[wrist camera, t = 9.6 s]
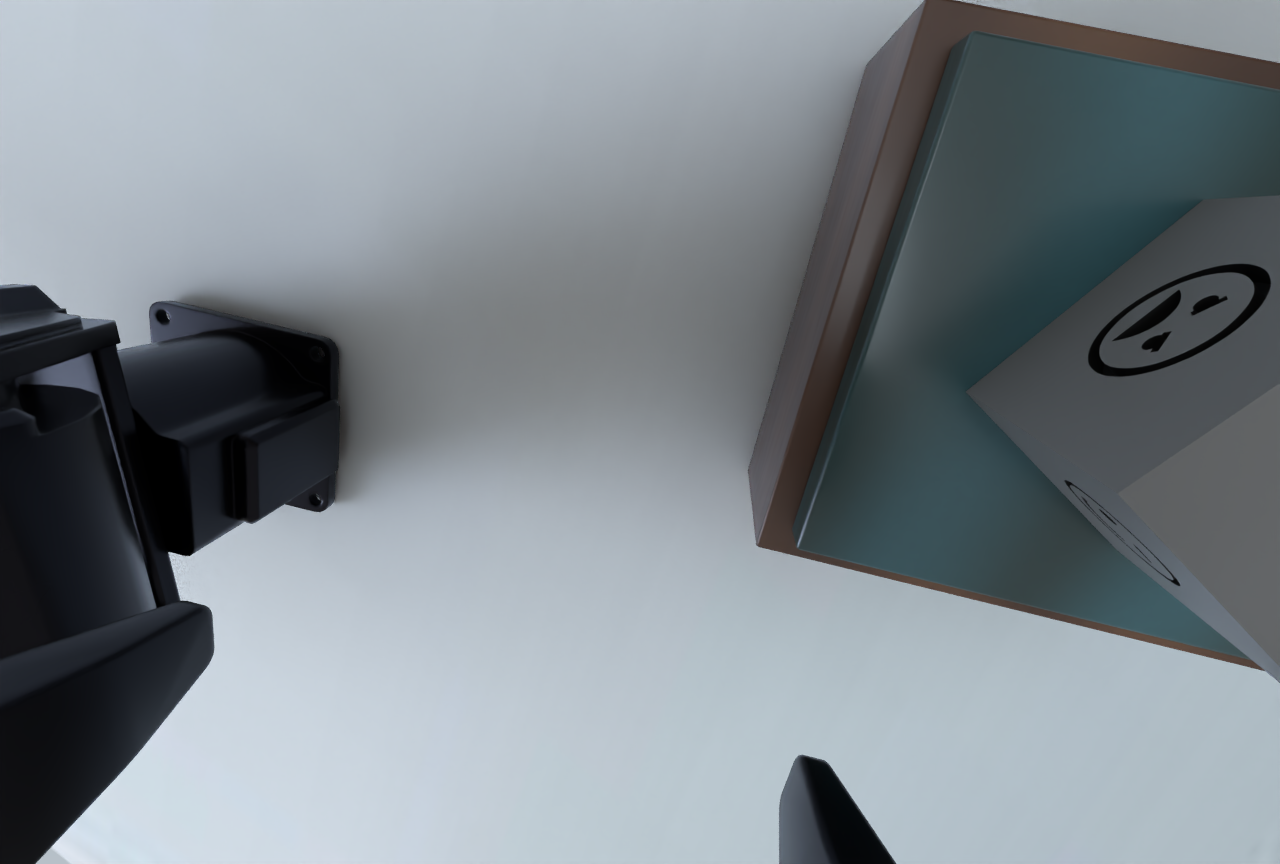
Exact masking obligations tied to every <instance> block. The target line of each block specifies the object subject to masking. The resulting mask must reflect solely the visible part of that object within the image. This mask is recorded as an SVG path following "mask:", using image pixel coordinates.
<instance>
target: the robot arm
mask: <svg viewBox="0 0 1280 864" xmlns="http://www.w3.org/2000/svg"><path fill="white" fill-rule="evenodd" d="M166 312H167V313H168V314H169V317H170V320H169V319H168V318H167V315H166ZM149 318H150V330H151V342H152V343H150V344H146V345H141V346H136V347H131V348H126V349H121V350H117V347H116V344H119V343H121V342H120V338H119V334H118V330H117V326H116V322H115V321H114V320H102V319H87V318H81V317H80V316H77V315H70V314H67V312H66V309H62V308H60V307H59V306H57V305H56V304H55V303H54V302H53V301H52V300H51V299H50V298H49V297H48V296H47V295H45V294H44V293H43V292H42V291H41V290H40V289H39V288H38V287H37V286H35V285H18V284H10V285H0V864H36V862H37V861H38V860H39V859H40V858H41V857H42V856H43V855H44V854H45V853H46V852H47V851H48V850H49V849H50V848H51V847H52V846H53V845H54V843H55V842H56V841H57V840H58V839H59V838H60V837H61V836H62V835H63V834H64V833H65V832H66V831H67V830H68V829H69V828H70V826H71V825H72V824H73V823H74V822H75V821H76V820H77V819H78V818H79V817H80V816H81V815H82V814H83V813H84V812H85V810H86V809H87V808H88V807H89V806H90V805H91V804H92V803H93V802H94V801H95V800H96V799H97V798H98V797H99V796H100V795H101V793H102V792H103V791H104V790H105V789H106V788H107V787H108V786H109V785H110V784H111V783H112V782H113V781H114V780H115V779H116V778H117V776H118V775H119V774H120V773H121V772H122V771H123V770H124V769H125V768H126V766H127V765H128V764H129V763H130V762H131V761H132V760H133V758H134V757H135V756H136V755H137V754H138V753H139V751H140V750H141V749H142V748H143V747H144V745H145V744H146V743H147V742H148V740H149V739H150V738H151V737H152V735H153V734H154V733H155V732H156V730H157V729H158V728H159V727H160V725H161V724H162V723H163V722H164V720H165V719H166V718H167V717H168V715H169V714H170V713H171V712H172V710H173V709H174V708H175V706H176V705H177V704H178V703H179V701H180V700H181V699H182V698H183V696H184V695H185V694H186V693H187V691H188V690H189V689H190V688H191V686H192V685H193V684H194V683H195V681H196V680H197V679H198V678H199V676H200V675H201V674H202V673H203V671H204V670H205V669H206V667H207V666H208V665H209V663H210V661H211V659H212V656H213V653H214V634H213V618H212V612H211V610H210V609H209V607H207V606H205V605H201V604H197V603H193V602H189V601H180V597H179V593H178V589H177V585H176V581H175V577H174V573H173V569H172V565H171V561H170V558H169V554H168V552H172V553H176V554H180V555H184V556H190V555H192V554H193V553H195V552H197V551H198V550H200V549H201V548H203V547H205V546H206V545H208V544H209V543H211V542H213V541H214V540H216V539H218V538H219V537H221V536H222V535H224V534H226V533H227V532H229V531H230V530H232V529H234V528H235V527H237V526H239V525H240V524H242V523H243V522H246V523H250V524H253V523H256V522H257V521H259V520H260V519H262V518H263V517H265V516H267V515H268V514H270V513H271V512H273V511H274V510H276V509H278V508H279V507H281V506H282V505H284V504H286V505H290V506H294V507H298V508H302V509H306V510H310V511H314V512H321V511H324V510H325V509H327V508H328V507H330V506H331V505H332V504H333V503H334V499H335V472H336V471H337V470H338V460H339V426H340V407H339V404H338V402H337V401H338V365H339V353H338V348H337V346H336V345H335V343H334V342H333V341H332V340H331V339H329V338H326V337H323V336H319V335H315V334H311V333H306V332H302V331H298V330H294V329H289V328H285V327H281V326H277V325H272V324H268V323H264V322H260V321H256V320H251V319H247V318H243V317H239V316H234V315H230V314H226V313H222V312H217V311H213V310H209V309H205V308H200V307H196V306H192V305H188V304H183V303H179V302H175V301H161V302H156V303H154V304H152V306H151V307H150V310H149ZM318 347H320V348H321V349H322V350H323V351H324V355H325V356H324V358H322V357H321V356H320V355H319V354H318ZM315 493H316V494H318V495H319V496H320V497H321V500H322V501H320V500H319V499H318V498H317V497H316V494H315ZM779 864H896V863H895V861H894V860H893V858H892V857H891V855H890V854H889V852H888V851H887V849H886V848H885V846H884V845H883V843H882V842H881V840H880V839H879V837H878V836H877V834H876V833H875V831H874V830H873V828H872V827H871V825H870V824H869V823H868V821H867V820H866V818H865V817H864V815H863V814H862V812H861V811H860V809H859V808H858V806H857V805H856V803H855V802H854V800H853V799H852V797H851V796H850V794H849V793H848V791H847V790H846V788H845V787H844V785H843V784H842V783H841V781H840V780H839V778H838V777H837V775H836V774H835V772H834V771H833V769H832V768H831V766H830V765H829V764H828V763H827V762H826V761H824V760H821V759H817V758H813V757H809V756H805V755H799V756H798V757H797V758H796V759H795V761H794V763H793V766H792V768H791V771H790V773H789V776H788V779H787V781H786V784H785V786H784V789H783V792H782V795H781V799H780V806H779Z"/></svg>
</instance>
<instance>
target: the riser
mask: <svg viewBox="0 0 1280 864" xmlns="http://www.w3.org/2000/svg"><path fill="white" fill-rule="evenodd" d="M1277 195H1280V63H1277V62H1272V61H1267V60H1261V59H1256V58H1251V57H1246V56H1241V55H1235V54H1230V53H1225V52H1220V51H1215V50H1210V49H1204V48H1199V47H1194V46H1189V45H1184V44H1178V43H1173V42H1168V41H1163V40H1158V39H1153V38H1147V37H1142V36H1137V35H1132V34H1127V33H1121V32H1116V31H1111V30H1106V29H1101V28H1096V27H1090V26H1085V25H1080V24H1075V23H1070V22H1064V21H1059V20H1054V19H1049V18H1044V17H1039V16H1033V15H1028V14H1023V13H1018V12H1013V11H1007V10H1002V9H997V8H992V7H987V6H982V5H976V4H971V3H966V2H961V1H956V0H924V1H923V2H922V3H921V5H920V6H919V7H918V8H917V9H916V10H915V11H914V12H913V14H912V15H911V16H910V17H909V18H908V19H907V20H906V21H905V22H904V24H903V25H902V26H901V27H900V28H899V29H898V30H897V31H896V32H895V34H894V35H893V36H892V37H891V38H890V39H889V40H888V41H887V42H886V44H885V45H884V46H883V47H882V48H881V49H880V50H879V51H878V52H877V54H876V55H875V56H874V57H873V58H872V59H871V60H870V61H869V63H868V64H867V65H866V68H865V71H864V75H863V78H862V82H861V85H860V89H859V92H858V95H857V99H856V102H855V106H854V109H853V113H852V116H851V119H850V123H849V126H848V130H847V133H846V137H845V140H844V143H843V147H842V150H841V154H840V157H839V161H838V164H837V167H836V171H835V174H834V178H833V181H832V185H831V188H830V191H829V195H828V198H827V202H826V205H825V209H824V212H823V215H822V219H821V222H820V226H819V229H818V232H817V236H816V239H815V243H814V246H813V250H812V253H811V256H810V260H809V263H808V267H807V270H806V274H805V277H804V280H803V284H802V287H801V291H800V294H799V298H798V301H797V304H796V308H795V311H794V315H793V318H792V322H791V325H790V328H789V332H788V335H787V339H786V342H785V346H784V349H783V352H782V356H781V359H780V363H779V366H778V370H777V373H776V376H775V380H774V383H773V387H772V390H771V394H770V397H769V400H768V404H767V407H766V411H765V414H764V417H763V421H762V424H761V428H760V431H759V435H758V438H757V441H756V445H755V448H754V452H753V455H752V459H751V462H750V465H749V469H748V474H749V483H750V492H751V501H752V510H753V519H754V528H755V537H756V545H757V546H758V547H762V548H766V549H770V550H774V551H778V552H782V553H786V554H790V555H794V556H799V557H803V558H807V559H811V560H815V561H819V562H823V563H827V564H831V565H835V566H839V567H843V568H847V569H852V570H856V571H860V572H864V573H868V574H872V575H876V576H880V577H884V578H888V579H892V580H896V581H900V582H904V583H909V584H913V585H917V586H921V587H925V588H929V589H933V590H937V591H941V592H945V593H949V594H953V595H957V596H962V597H966V598H970V599H974V600H978V601H982V602H986V603H990V604H994V605H998V606H1002V607H1006V608H1010V609H1014V610H1019V611H1023V612H1027V613H1031V614H1035V615H1039V616H1043V617H1047V618H1051V619H1055V620H1059V621H1063V622H1067V623H1072V624H1076V625H1080V626H1084V627H1088V628H1092V629H1096V630H1100V631H1104V632H1108V633H1112V634H1116V635H1120V636H1124V637H1129V638H1133V639H1137V640H1141V641H1145V642H1149V643H1153V644H1157V645H1161V646H1165V647H1169V648H1173V649H1177V650H1182V651H1186V652H1190V653H1194V654H1198V655H1202V656H1206V657H1210V658H1214V659H1218V660H1222V661H1226V662H1230V663H1234V664H1239V665H1243V666H1247V667H1251V668H1255V669H1259V670H1263V671H1265V670H1264V669H1262V668H1261V667H1260V666H1259V665H1257V664H1256V663H1255V662H1254V661H1252V660H1251V659H1250V658H1249V657H1248V656H1246V655H1245V654H1244V653H1243V652H1241V651H1240V650H1239V649H1238V648H1237V647H1235V646H1234V645H1233V644H1232V643H1230V642H1229V641H1228V640H1227V639H1225V638H1224V637H1223V636H1222V635H1221V634H1219V633H1218V632H1217V631H1216V630H1214V629H1213V628H1212V627H1211V626H1210V625H1208V624H1207V623H1206V622H1205V621H1203V620H1202V619H1201V618H1200V617H1198V616H1197V615H1196V614H1195V613H1194V612H1192V611H1191V610H1190V609H1189V608H1187V607H1186V606H1185V605H1184V604H1183V603H1181V602H1180V601H1179V600H1178V599H1176V598H1175V597H1174V596H1173V595H1171V594H1170V593H1169V592H1168V591H1167V590H1165V589H1164V588H1163V587H1162V586H1160V585H1159V584H1158V583H1157V582H1156V581H1154V580H1153V579H1152V578H1151V577H1149V576H1148V575H1147V574H1146V573H1144V572H1143V571H1142V570H1141V569H1140V568H1138V567H1137V566H1136V565H1135V564H1133V563H1132V562H1131V561H1130V560H1129V559H1127V558H1126V557H1125V556H1124V555H1122V554H1121V553H1120V552H1119V551H1117V550H1116V549H1115V548H1114V547H1113V546H1112V544H1111V543H1110V542H1109V541H1108V540H1107V539H1106V538H1105V537H1104V536H1103V535H1102V534H1101V533H1100V532H1099V531H1098V530H1097V529H1096V528H1095V527H1094V526H1093V525H1092V524H1091V522H1090V521H1089V520H1088V519H1087V518H1086V517H1085V516H1084V515H1083V514H1082V513H1081V512H1080V511H1079V510H1078V509H1077V508H1076V507H1075V506H1074V505H1073V504H1072V503H1071V502H1070V501H1069V499H1068V498H1067V497H1066V496H1065V495H1064V494H1063V493H1062V492H1061V491H1060V490H1059V489H1058V488H1057V487H1056V486H1055V485H1054V484H1053V483H1052V482H1051V481H1050V480H1049V479H1048V478H1047V476H1046V475H1045V474H1044V473H1043V472H1042V471H1041V470H1040V469H1039V468H1038V467H1037V466H1036V465H1035V464H1034V463H1033V462H1032V461H1031V460H1030V459H1029V458H1028V457H1027V456H1026V455H1025V453H1024V452H1023V451H1022V450H1021V449H1020V448H1019V447H1018V446H1017V445H1016V444H1015V443H1014V442H1013V441H1012V440H1011V439H1010V438H1009V437H1008V436H1007V435H1006V434H1005V433H1004V431H1003V430H1002V429H1001V428H1000V427H999V426H998V425H997V424H996V423H995V422H994V421H993V420H992V419H991V418H990V417H989V416H988V415H987V414H986V413H985V412H984V411H983V410H982V408H981V407H980V406H979V405H978V404H977V403H976V402H975V401H974V400H973V399H972V398H971V397H970V396H969V395H968V394H967V393H966V391H967V390H968V389H970V388H971V387H972V386H973V385H975V384H976V383H977V382H978V381H979V380H981V379H982V378H983V377H984V376H986V375H987V374H988V373H989V372H991V371H992V370H993V369H994V368H996V367H997V366H998V365H999V364H1001V363H1002V362H1003V361H1004V360H1005V359H1007V358H1008V357H1009V356H1010V355H1012V354H1013V353H1014V352H1015V351H1017V350H1018V349H1019V348H1020V347H1022V346H1023V345H1024V344H1025V343H1027V342H1028V341H1029V340H1030V339H1031V338H1033V337H1034V336H1035V335H1036V334H1038V333H1039V332H1040V331H1041V330H1043V329H1044V328H1045V327H1046V326H1048V325H1049V324H1050V323H1051V322H1053V321H1054V320H1055V319H1056V318H1058V317H1059V316H1060V315H1061V314H1062V313H1064V312H1065V311H1066V310H1067V309H1069V308H1070V307H1071V306H1072V305H1074V304H1075V303H1076V302H1077V301H1079V300H1080V299H1081V298H1082V297H1084V296H1085V295H1086V294H1087V293H1088V292H1090V291H1091V290H1092V289H1093V288H1095V287H1096V286H1097V285H1098V284H1100V283H1101V282H1102V281H1103V280H1105V279H1106V278H1107V277H1108V276H1110V275H1111V274H1112V273H1113V272H1114V271H1116V270H1117V269H1118V268H1119V267H1121V266H1122V265H1123V264H1124V263H1126V262H1127V261H1128V260H1129V259H1131V258H1132V257H1133V256H1134V255H1136V254H1137V253H1138V252H1139V251H1140V250H1142V249H1143V248H1144V247H1145V246H1147V245H1148V244H1149V243H1150V242H1152V241H1153V240H1154V239H1155V238H1157V237H1158V236H1159V235H1160V234H1162V233H1163V232H1164V231H1165V230H1166V229H1168V228H1169V227H1170V226H1171V225H1173V224H1174V223H1175V222H1176V221H1178V220H1179V219H1180V218H1181V217H1183V216H1184V215H1185V214H1186V213H1188V212H1189V211H1190V210H1191V209H1193V208H1194V207H1195V206H1196V205H1197V204H1199V203H1200V202H1201V201H1202V200H1207V199H1225V198H1242V197H1260V196H1277Z"/></svg>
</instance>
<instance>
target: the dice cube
mask: <svg viewBox="0 0 1280 864" xmlns="http://www.w3.org/2000/svg"><path fill="white" fill-rule="evenodd" d="M966 393H967V394H968V395H969V396H970V397H971V398H972V399H973V400H974V401H975V402H976V403H977V404H978V405H979V406H980V407H981V408H982V410H983V411H984V412H985V413H986V414H987V415H988V416H989V417H990V418H991V419H992V420H993V421H994V422H995V423H996V424H997V425H998V426H999V427H1000V428H1001V429H1002V430H1003V431H1004V433H1005V434H1006V435H1007V436H1008V437H1009V438H1010V439H1011V440H1012V441H1013V442H1014V443H1015V444H1016V445H1017V446H1018V447H1019V448H1020V449H1021V450H1022V451H1023V452H1024V453H1025V455H1026V456H1027V457H1028V458H1029V459H1030V460H1031V461H1032V462H1033V463H1034V464H1035V465H1036V466H1037V467H1038V468H1039V469H1040V470H1041V471H1042V472H1043V473H1044V474H1045V475H1046V476H1047V478H1048V479H1049V480H1050V481H1051V482H1052V483H1053V484H1054V485H1055V486H1056V487H1057V488H1058V489H1059V490H1060V491H1061V492H1062V493H1063V494H1064V495H1065V496H1066V497H1067V498H1068V499H1069V501H1070V502H1071V503H1072V504H1073V505H1074V506H1075V507H1076V508H1077V509H1078V510H1079V511H1080V512H1081V513H1082V514H1083V515H1084V516H1085V517H1086V518H1087V519H1088V520H1089V521H1090V522H1091V524H1092V525H1093V526H1094V527H1095V528H1096V529H1097V530H1098V531H1099V532H1100V533H1101V534H1102V535H1103V536H1104V537H1105V538H1106V539H1107V540H1108V541H1109V542H1110V543H1111V544H1112V546H1113V547H1114V548H1115V549H1116V550H1117V551H1119V552H1120V553H1121V554H1122V555H1124V556H1125V557H1126V558H1127V559H1129V560H1130V561H1131V562H1132V563H1133V564H1135V565H1136V566H1137V567H1138V568H1140V569H1141V570H1142V571H1143V572H1144V573H1146V574H1147V575H1148V576H1149V577H1151V578H1152V579H1153V580H1154V581H1156V582H1157V583H1158V584H1159V585H1160V586H1162V587H1163V588H1164V589H1165V590H1167V591H1168V592H1169V593H1170V594H1171V595H1173V596H1174V597H1175V598H1176V599H1178V600H1179V601H1180V602H1181V603H1183V604H1184V605H1185V606H1186V607H1187V608H1189V609H1190V610H1191V611H1192V612H1194V613H1195V614H1196V615H1197V616H1198V617H1200V618H1201V619H1202V620H1203V621H1205V622H1206V623H1207V624H1208V625H1210V626H1211V627H1212V628H1213V629H1214V630H1216V631H1217V632H1218V633H1219V634H1221V635H1222V636H1223V637H1224V638H1225V639H1227V640H1228V641H1229V642H1230V643H1232V644H1233V645H1234V646H1235V647H1237V648H1238V649H1239V650H1240V651H1241V652H1243V653H1244V654H1245V655H1246V656H1248V657H1249V658H1250V659H1251V660H1252V661H1254V662H1255V663H1256V664H1257V665H1259V666H1260V667H1261V668H1262V669H1264V670H1265V671H1266V672H1267V673H1268V674H1270V675H1271V676H1272V677H1273V678H1275V679H1276V680H1277V681H1278V682H1280V195H1277V196H1260V197H1242V198H1225V199H1207V200H1202V201H1201V202H1200V203H1199V204H1197V205H1196V206H1195V207H1194V208H1193V209H1191V210H1190V211H1189V212H1188V213H1186V214H1185V215H1184V216H1183V217H1181V218H1180V219H1179V220H1178V221H1176V222H1175V223H1174V224H1173V225H1171V226H1170V227H1169V228H1168V229H1166V230H1165V231H1164V232H1163V233H1162V234H1160V235H1159V236H1158V237H1157V238H1155V239H1154V240H1153V241H1152V242H1150V243H1149V244H1148V245H1147V246H1145V247H1144V248H1143V249H1142V250H1140V251H1139V252H1138V253H1137V254H1136V255H1134V256H1133V257H1132V258H1131V259H1129V260H1128V261H1127V262H1126V263H1124V264H1123V265H1122V266H1121V267H1119V268H1118V269H1117V270H1116V271H1114V272H1113V273H1112V274H1111V275H1110V276H1108V277H1107V278H1106V279H1105V280H1103V281H1102V282H1101V283H1100V284H1098V285H1097V286H1096V287H1095V288H1093V289H1092V290H1091V291H1090V292H1088V293H1087V294H1086V295H1085V296H1084V297H1082V298H1081V299H1080V300H1079V301H1077V302H1076V303H1075V304H1074V305H1072V306H1071V307H1070V308H1069V309H1067V310H1066V311H1065V312H1064V313H1062V314H1061V315H1060V316H1059V317H1058V318H1056V319H1055V320H1054V321H1053V322H1051V323H1050V324H1049V325H1048V326H1046V327H1045V328H1044V329H1043V330H1041V331H1040V332H1039V333H1038V334H1036V335H1035V336H1034V337H1033V338H1031V339H1030V340H1029V341H1028V342H1027V343H1025V344H1024V345H1023V346H1022V347H1020V348H1019V349H1018V350H1017V351H1015V352H1014V353H1013V354H1012V355H1010V356H1009V357H1008V358H1007V359H1005V360H1004V361H1003V362H1002V363H1001V364H999V365H998V366H997V367H996V368H994V369H993V370H992V371H991V372H989V373H988V374H987V375H986V376H984V377H983V378H982V379H981V380H979V381H978V382H977V383H976V384H975V385H973V386H972V387H971V388H970V389H968V390H967V391H966Z"/></svg>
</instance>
